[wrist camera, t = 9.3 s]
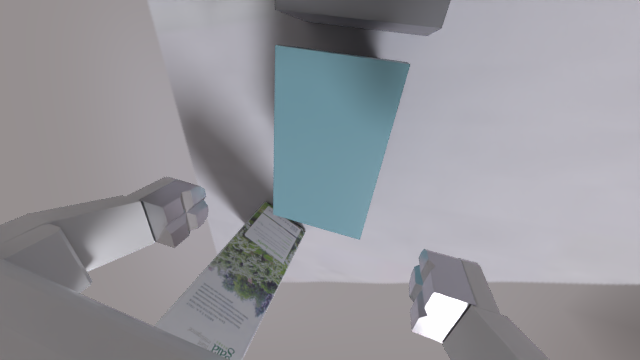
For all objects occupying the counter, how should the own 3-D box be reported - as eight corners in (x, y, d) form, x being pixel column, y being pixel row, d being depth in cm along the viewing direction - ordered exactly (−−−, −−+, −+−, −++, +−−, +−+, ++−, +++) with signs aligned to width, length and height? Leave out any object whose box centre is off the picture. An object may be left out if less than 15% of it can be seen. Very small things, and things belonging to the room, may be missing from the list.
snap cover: (298, 47, 13) (275, 45, 10) (406, 62, 12) (410, 64, 9) (290, 192, 18) (273, 214, 15) (364, 212, 17) (359, 239, 14)
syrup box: (246, 227, 28) (129, 364, 15) (266, 198, 24) (139, 342, 12) (283, 254, 28) (199, 408, 16) (308, 229, 25) (226, 398, 13)
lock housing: (320, -169, 12) (276, -300, 7) (491, -175, 10) (564, -346, 6) (297, 158, 21) (272, 185, 17) (383, 178, 20) (381, 213, 15)
